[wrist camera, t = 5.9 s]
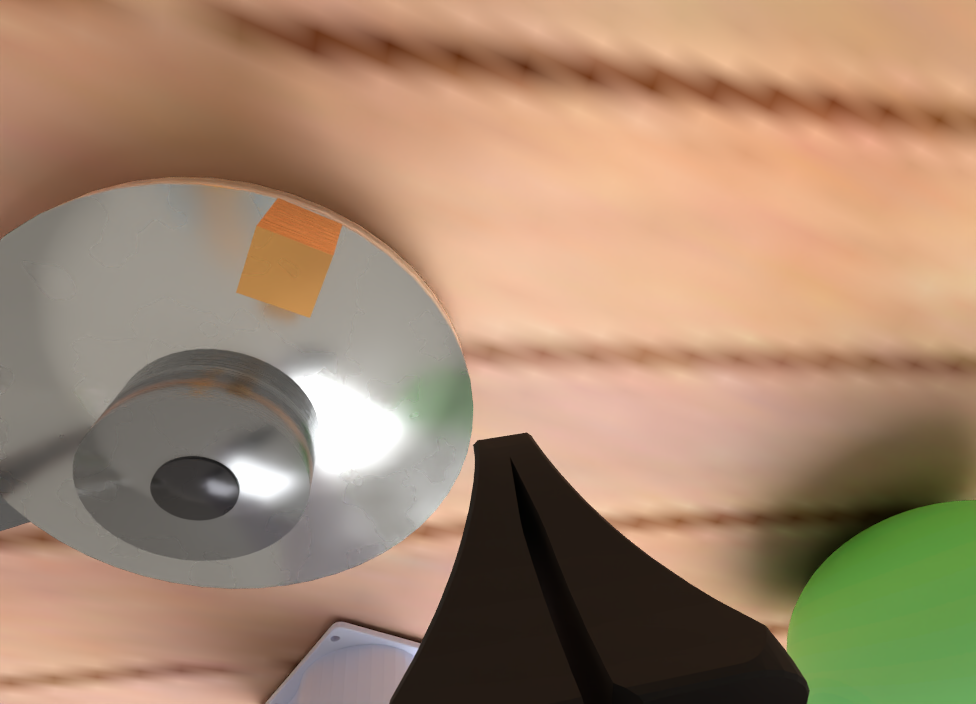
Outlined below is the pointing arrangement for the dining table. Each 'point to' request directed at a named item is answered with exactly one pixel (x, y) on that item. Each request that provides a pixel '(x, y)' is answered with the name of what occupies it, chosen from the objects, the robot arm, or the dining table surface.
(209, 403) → the cover
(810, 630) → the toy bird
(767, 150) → the dining table surface
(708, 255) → the dining table surface
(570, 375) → the dining table surface
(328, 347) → the disc
